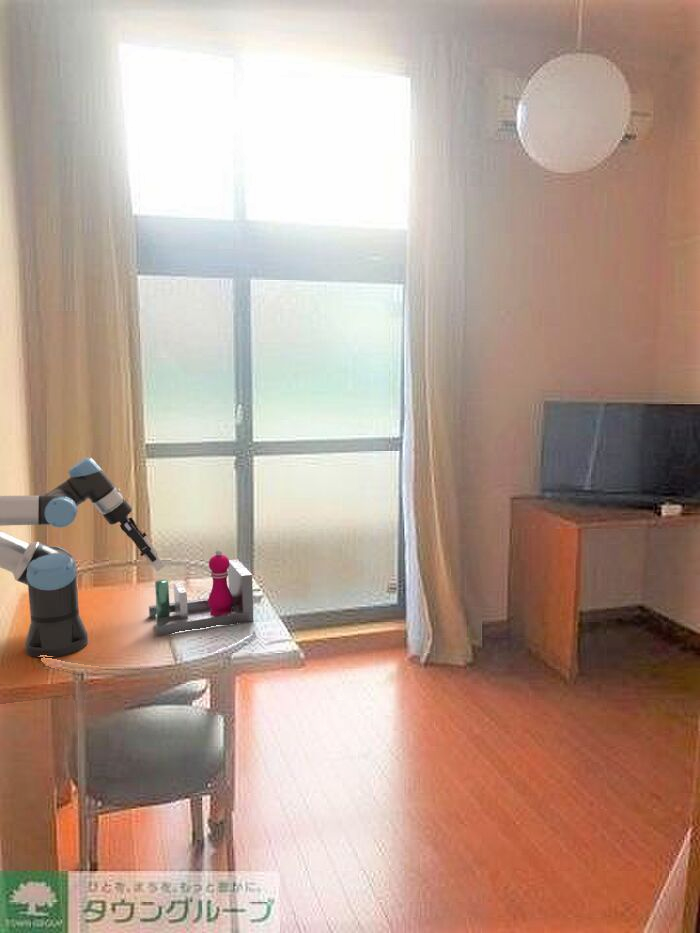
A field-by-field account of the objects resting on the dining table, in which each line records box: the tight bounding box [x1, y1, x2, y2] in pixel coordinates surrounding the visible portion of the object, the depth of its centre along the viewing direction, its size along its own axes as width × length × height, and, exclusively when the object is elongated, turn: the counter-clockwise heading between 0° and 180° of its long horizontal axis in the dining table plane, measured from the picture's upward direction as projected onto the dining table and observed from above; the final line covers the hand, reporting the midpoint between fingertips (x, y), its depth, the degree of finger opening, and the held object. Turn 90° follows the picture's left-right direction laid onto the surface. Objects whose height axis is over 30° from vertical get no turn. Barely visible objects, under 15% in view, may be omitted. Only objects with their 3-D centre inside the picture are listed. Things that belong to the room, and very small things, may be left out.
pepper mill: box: [208, 549, 233, 616], centre depth 198 cm, size 7×7×20 cm
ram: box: [154, 579, 189, 625], centre depth 193 cm, size 8×10×12 cm
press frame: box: [148, 559, 254, 637], centre depth 196 cm, size 27×17×14 cm, turn 113°
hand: (157, 562), depth 199 cm, fingers open, 13 cm apart
